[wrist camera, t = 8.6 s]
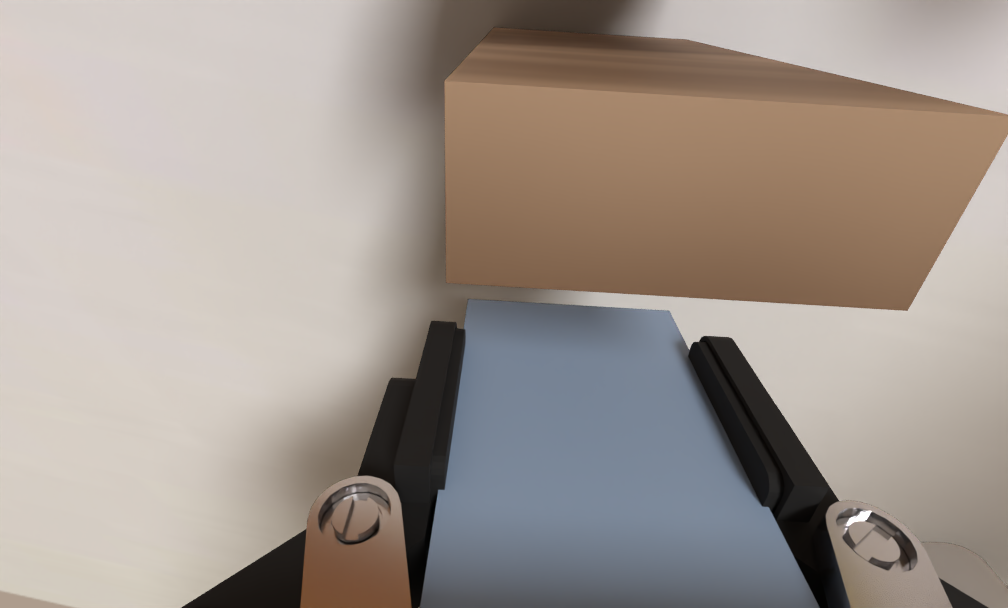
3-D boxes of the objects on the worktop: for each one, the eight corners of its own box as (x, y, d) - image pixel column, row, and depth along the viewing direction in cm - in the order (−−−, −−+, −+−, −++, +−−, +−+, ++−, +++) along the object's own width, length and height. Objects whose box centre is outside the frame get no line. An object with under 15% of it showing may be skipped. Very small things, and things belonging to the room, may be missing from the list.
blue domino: (468, 298, 12) (361, 983, 4) (669, 310, 12) (1022, 1009, 4) (466, 363, 13) (379, 1013, 5) (652, 373, 13) (898, 1033, 5)
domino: (493, 27, 13) (443, 80, 4) (686, 39, 13) (1017, 117, 4) (490, 109, 14) (445, 282, 5) (669, 120, 14) (907, 310, 5)
